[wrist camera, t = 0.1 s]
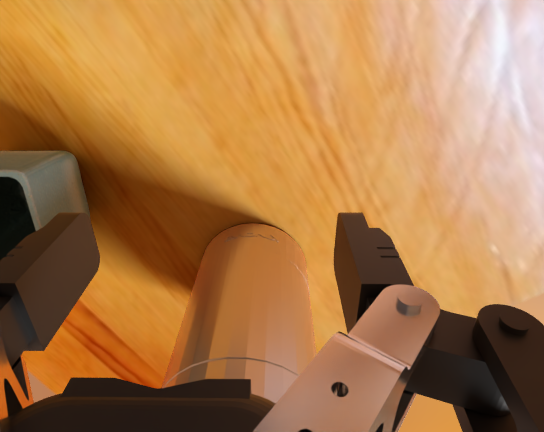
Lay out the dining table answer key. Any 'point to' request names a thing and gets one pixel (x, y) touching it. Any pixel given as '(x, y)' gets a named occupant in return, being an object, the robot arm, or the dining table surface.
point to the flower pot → (36, 192)
